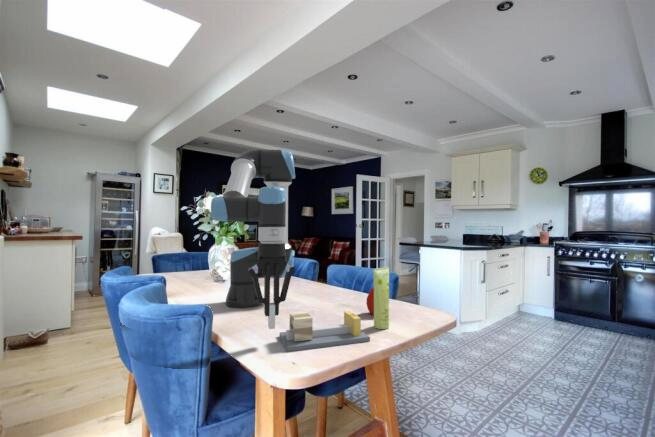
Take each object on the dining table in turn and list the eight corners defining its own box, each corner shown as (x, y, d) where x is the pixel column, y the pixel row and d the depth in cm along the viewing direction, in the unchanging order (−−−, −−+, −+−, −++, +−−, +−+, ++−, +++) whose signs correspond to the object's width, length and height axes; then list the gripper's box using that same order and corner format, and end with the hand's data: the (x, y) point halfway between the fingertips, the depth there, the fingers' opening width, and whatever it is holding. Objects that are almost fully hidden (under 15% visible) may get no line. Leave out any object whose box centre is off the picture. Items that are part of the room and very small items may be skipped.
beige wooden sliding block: (289, 333, 93) (289, 312, 93) (305, 331, 95) (306, 311, 95) (294, 341, 86) (294, 319, 86) (312, 339, 88) (312, 317, 88)
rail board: (279, 336, 94) (279, 315, 95) (353, 328, 102) (353, 308, 102) (287, 351, 83) (287, 328, 83) (369, 341, 91) (369, 319, 91)
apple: (384, 318, 113) (384, 288, 113) (362, 315, 117) (362, 286, 117) (391, 312, 120) (391, 284, 120) (370, 310, 124) (370, 282, 124)
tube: (389, 330, 100) (389, 268, 100) (373, 329, 101) (373, 268, 101) (389, 325, 105) (388, 266, 106) (373, 324, 106) (373, 266, 107)
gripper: (249, 243, 83) (248, 334, 82) (297, 242, 87) (297, 329, 86) (247, 242, 90) (246, 325, 89) (292, 241, 94) (291, 321, 93)
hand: (271, 327), depth 88 cm, fingers closed
